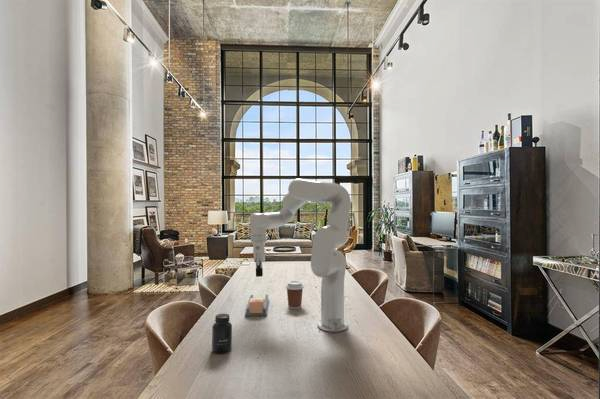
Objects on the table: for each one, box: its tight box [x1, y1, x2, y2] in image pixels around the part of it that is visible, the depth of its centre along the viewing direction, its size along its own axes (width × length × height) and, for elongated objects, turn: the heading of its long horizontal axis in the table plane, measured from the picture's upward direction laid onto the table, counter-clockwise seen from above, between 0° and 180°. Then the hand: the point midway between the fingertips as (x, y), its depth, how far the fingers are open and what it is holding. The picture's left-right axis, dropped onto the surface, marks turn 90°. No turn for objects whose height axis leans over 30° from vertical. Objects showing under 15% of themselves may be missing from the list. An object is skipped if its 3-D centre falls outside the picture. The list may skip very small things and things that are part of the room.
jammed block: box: [249, 297, 264, 313], centre depth 153 cm, size 6×6×5 cm
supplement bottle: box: [211, 313, 233, 355], centre depth 116 cm, size 7×7×12 cm
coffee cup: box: [285, 280, 305, 310], centre depth 163 cm, size 9×9×12 cm
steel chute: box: [244, 294, 270, 317], centre depth 161 cm, size 22×10×4 cm, turn 3°
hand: (259, 276), depth 161 cm, fingers closed
